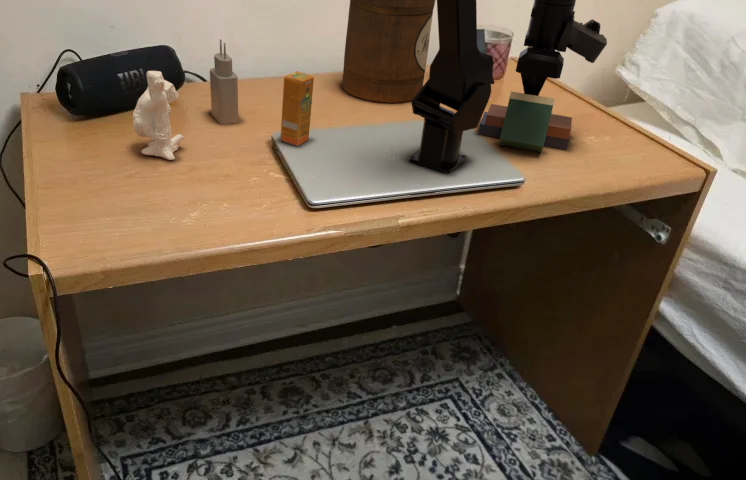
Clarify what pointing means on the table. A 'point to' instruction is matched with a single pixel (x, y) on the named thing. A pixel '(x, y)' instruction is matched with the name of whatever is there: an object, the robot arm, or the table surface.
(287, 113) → the supplement box
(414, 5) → the wooden container
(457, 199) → the table surface
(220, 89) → the power adapter
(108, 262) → the table surface
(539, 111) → the tea box
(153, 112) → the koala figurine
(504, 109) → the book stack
